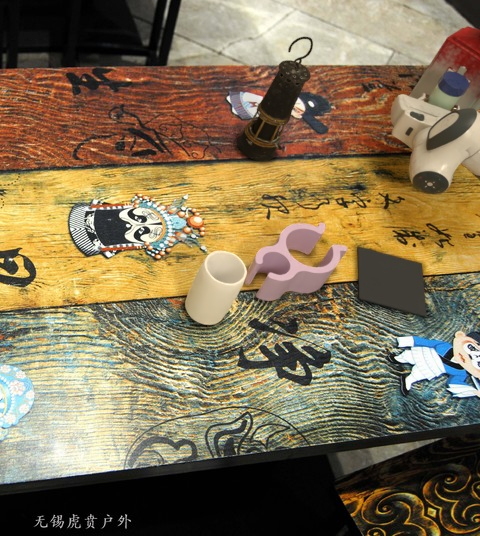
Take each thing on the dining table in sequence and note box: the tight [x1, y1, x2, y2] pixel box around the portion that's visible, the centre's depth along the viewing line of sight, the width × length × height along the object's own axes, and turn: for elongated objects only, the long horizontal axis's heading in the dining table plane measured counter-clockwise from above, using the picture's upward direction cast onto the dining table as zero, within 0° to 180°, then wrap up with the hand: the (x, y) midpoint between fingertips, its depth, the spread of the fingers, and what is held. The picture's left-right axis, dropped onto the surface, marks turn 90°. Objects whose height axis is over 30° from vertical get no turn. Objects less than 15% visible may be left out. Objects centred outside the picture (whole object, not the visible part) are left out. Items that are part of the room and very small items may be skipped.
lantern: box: [237, 36, 314, 162], centre depth 160 cm, size 9×9×30 cm
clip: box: [243, 222, 348, 302], centre depth 148 cm, size 20×12×7 cm, turn 122°
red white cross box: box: [408, 26, 480, 112], centre depth 175 cm, size 14×10×30 cm
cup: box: [184, 250, 248, 326], centre depth 136 cm, size 8×8×14 cm
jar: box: [427, 84, 461, 111], centre depth 168 cm, size 6×6×12 cm
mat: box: [357, 246, 427, 318], centre depth 153 cm, size 14×14×1 cm
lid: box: [438, 71, 469, 97], centre depth 164 cm, size 6×6×2 cm
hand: (439, 101), depth 169 cm, fingers closed on jar, 6 cm apart
